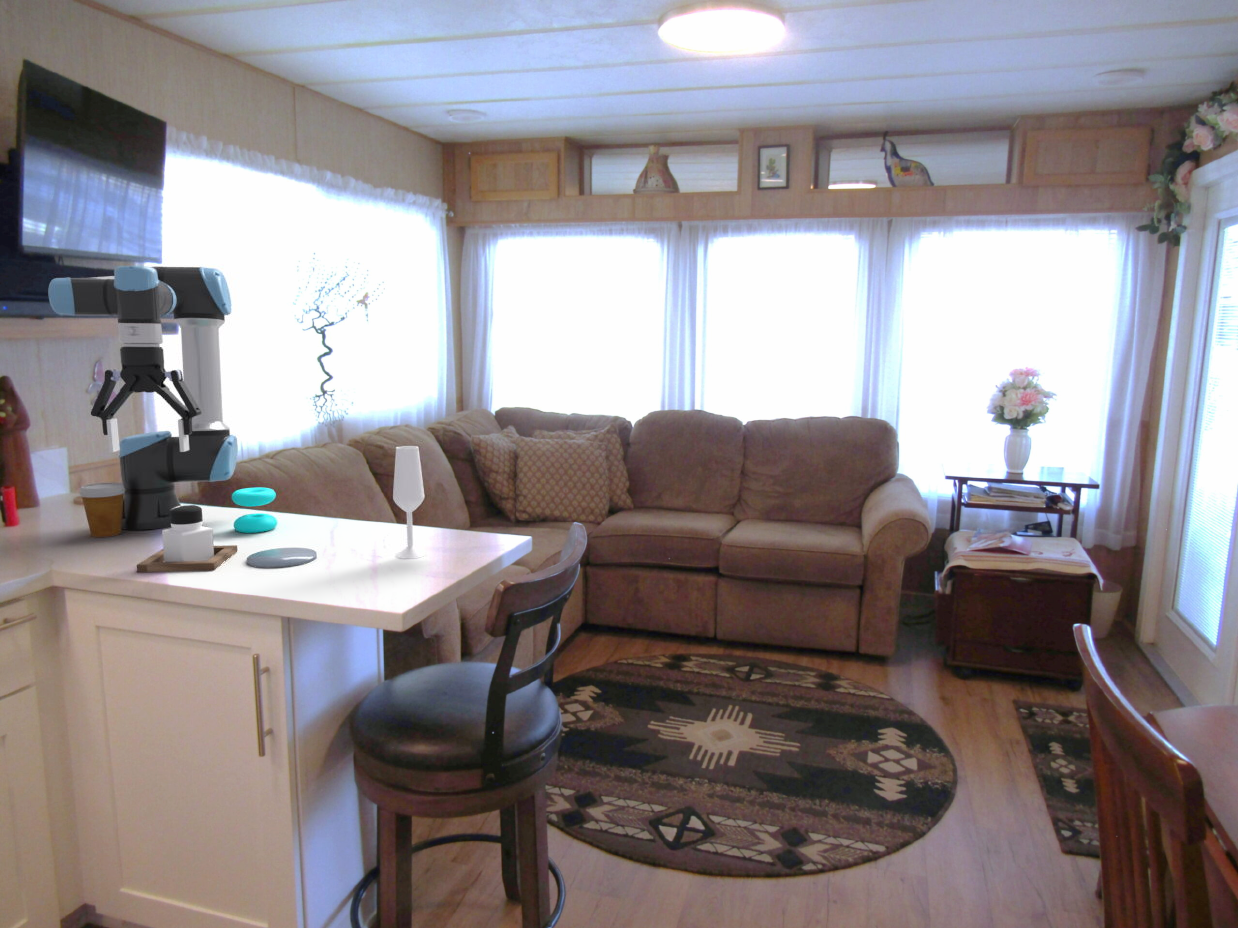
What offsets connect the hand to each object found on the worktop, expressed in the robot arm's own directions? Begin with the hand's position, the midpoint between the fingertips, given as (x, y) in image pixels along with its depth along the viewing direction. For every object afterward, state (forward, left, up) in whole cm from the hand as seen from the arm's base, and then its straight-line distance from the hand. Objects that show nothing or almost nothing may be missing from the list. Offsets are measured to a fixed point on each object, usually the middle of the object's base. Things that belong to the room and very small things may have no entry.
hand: (149, 451), depth 171 cm
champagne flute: (-6, +50, -25) cm, 56 cm away
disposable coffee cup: (-33, -25, -25) cm, 48 cm away
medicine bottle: (-5, +4, -25) cm, 25 cm away
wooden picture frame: (-5, +4, -24) cm, 25 cm away
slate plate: (-5, +23, -24) cm, 34 cm away
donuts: (-35, +9, -25) cm, 43 cm away
